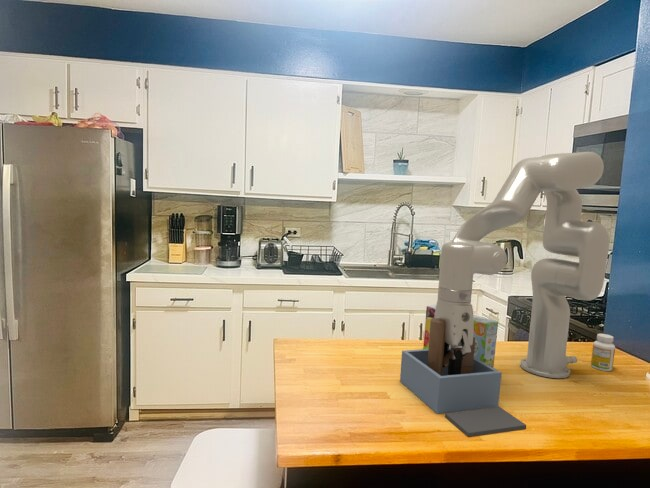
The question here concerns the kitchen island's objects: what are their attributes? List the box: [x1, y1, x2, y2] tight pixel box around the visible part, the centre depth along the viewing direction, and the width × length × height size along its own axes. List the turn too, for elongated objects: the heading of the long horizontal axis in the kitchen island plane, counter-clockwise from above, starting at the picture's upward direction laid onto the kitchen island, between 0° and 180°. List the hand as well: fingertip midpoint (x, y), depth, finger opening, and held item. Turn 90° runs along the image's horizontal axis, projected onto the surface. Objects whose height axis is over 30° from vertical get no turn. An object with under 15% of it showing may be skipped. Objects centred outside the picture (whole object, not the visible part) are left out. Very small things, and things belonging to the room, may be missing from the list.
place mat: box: [444, 406, 527, 438], centre depth 90 cm, size 14×8×1 cm, turn 108°
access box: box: [399, 348, 502, 415], centre depth 103 cm, size 16×17×8 cm
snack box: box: [422, 304, 499, 369], centre depth 123 cm, size 21×6×15 cm, turn 34°
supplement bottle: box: [590, 333, 616, 372], centre depth 125 cm, size 5×5×10 cm
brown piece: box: [427, 318, 475, 376], centre depth 103 cm, size 4×11×18 cm, turn 100°
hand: (448, 369), depth 103 cm, fingers closed on brown piece, 4 cm apart
